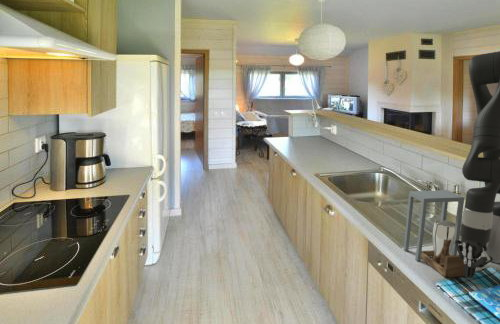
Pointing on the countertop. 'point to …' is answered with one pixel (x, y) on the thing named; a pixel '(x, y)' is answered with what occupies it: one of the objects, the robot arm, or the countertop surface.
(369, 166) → the countertop surface
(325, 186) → the countertop surface
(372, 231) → the countertop surface
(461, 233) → the robot arm
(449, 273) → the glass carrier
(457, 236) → the grey four-legged stool
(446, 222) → the beer glass
